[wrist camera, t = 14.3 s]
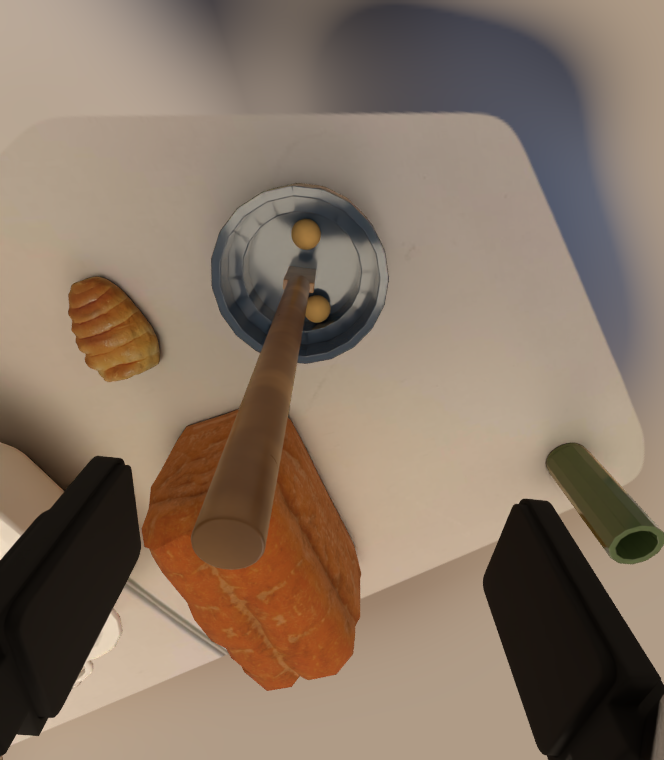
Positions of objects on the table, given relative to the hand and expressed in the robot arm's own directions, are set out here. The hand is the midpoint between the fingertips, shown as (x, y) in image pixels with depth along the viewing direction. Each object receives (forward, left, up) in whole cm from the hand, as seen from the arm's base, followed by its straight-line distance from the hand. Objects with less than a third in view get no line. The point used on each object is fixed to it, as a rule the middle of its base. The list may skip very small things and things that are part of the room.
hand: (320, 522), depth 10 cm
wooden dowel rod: (+2, +1, -30) cm, 30 cm away
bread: (+3, +28, -30) cm, 42 cm away
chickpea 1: (+2, -3, -28) cm, 29 cm away
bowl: (+2, 0, -30) cm, 30 cm away
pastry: (+19, +8, -30) cm, 37 cm away
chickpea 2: (+1, +3, -28) cm, 29 cm away
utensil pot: (-29, +18, -30) cm, 46 cm away
